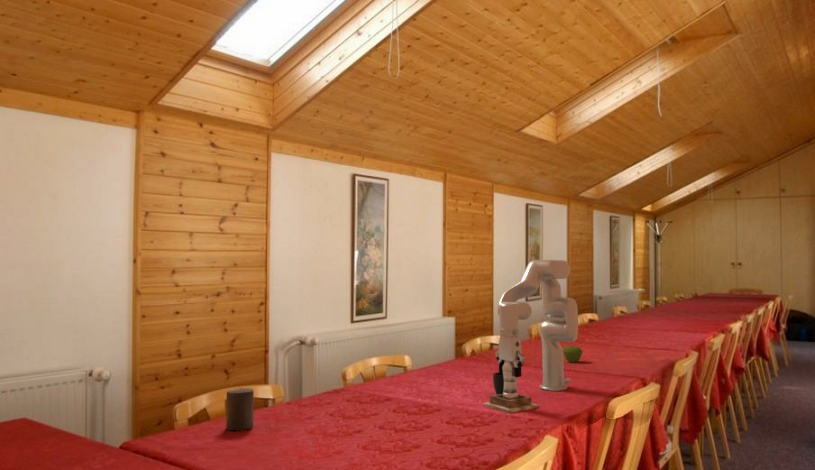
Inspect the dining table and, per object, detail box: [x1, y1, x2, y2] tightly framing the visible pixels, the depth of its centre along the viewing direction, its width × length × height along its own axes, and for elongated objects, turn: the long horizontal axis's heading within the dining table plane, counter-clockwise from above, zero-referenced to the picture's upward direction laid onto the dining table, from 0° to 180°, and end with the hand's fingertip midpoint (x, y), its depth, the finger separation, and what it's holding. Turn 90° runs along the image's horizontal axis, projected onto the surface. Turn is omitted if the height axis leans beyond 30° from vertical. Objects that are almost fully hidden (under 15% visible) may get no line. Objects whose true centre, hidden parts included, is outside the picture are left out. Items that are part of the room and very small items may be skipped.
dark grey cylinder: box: [225, 387, 255, 432], centre depth 228 cm, size 10×10×15 cm
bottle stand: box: [482, 393, 540, 414], centre depth 255 cm, size 16×16×4 cm
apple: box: [562, 345, 583, 363], centre depth 362 cm, size 11×10×10 cm
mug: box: [492, 372, 504, 395], centre depth 275 cm, size 8×12×10 cm
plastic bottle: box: [502, 361, 519, 400], centre depth 256 cm, size 6×7×20 cm
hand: (510, 375), depth 256 cm, fingers open, 9 cm apart
